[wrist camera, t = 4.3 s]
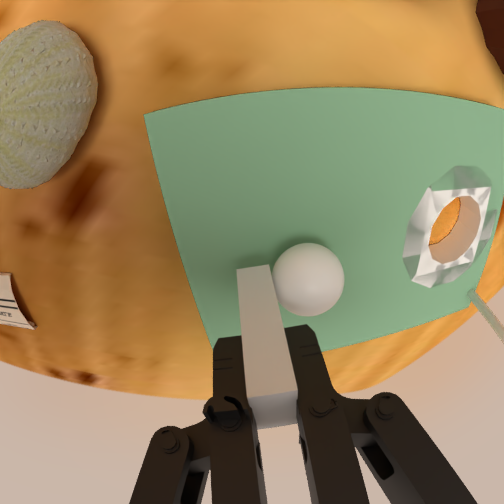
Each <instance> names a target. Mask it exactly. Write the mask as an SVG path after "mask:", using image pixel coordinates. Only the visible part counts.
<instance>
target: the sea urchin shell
mask: <svg viewBox="0 0 504 504" xmlns="http://www.w3.org/2000/svg"><path fill="white" fill-rule="evenodd" d="M98 85H99V84H98V82H97V76H96V73H95V69H94V63H93V56H92V55H91V54H90V52H89V50H88V49H87V48H86V47H85V44H84V43H83V42H82V40H81V39H80V37H79V36H78V34H77V33H75V32H74V31H71V30H70V29H69V28H67V27H66V26H65V25H64V24H62V23H60V21H59V22H58V21H46V20H45V21H44V20H41V21H37V22H36V23H33V24H30V25H28V26H26V27H24V28H21V29H20V28H19V29H18V30H17V31H15V30H14V31H13V32H12V33H11V34H9V35H8V36H7V37H6V38H5V39H4V40H3V41H2V42H0V186H3V187H5V188H9V189H12V188H13V189H23V188H27V189H28V188H34V187H37V186H38V185H40V184H43V183H45V182H47V181H49V180H50V179H51V178H52V177H53V176H54V175H55V174H56V173H57V172H58V170H59V169H60V168H61V167H62V166H63V165H64V164H65V163H66V162H67V160H69V159H70V158H71V157H70V156H71V155H72V154H73V153H74V150H75V149H76V146H77V143H78V142H79V140H80V139H81V137H82V136H83V135H84V133H85V131H86V129H87V128H88V123H89V120H90V116H91V113H92V111H93V109H94V107H95V104H96V102H97V91H98Z"/></svg>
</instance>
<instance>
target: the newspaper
mask: <svg viewBox="0 0 504 504" xmlns="http://www.w3.org/2000/svg"><path fill="white" fill-rule="evenodd" d="M11 274H12V273H0V324H5V325H10V326H16V327H21V328H27V329H33V330H36V328H37V327H38V326H34V323H33V322H31V321H27V320H26V319H25V318H24V316H23V315H22V313H21V312H20V310H19V308H18V305H17V303H16V300H15V298H14V295H13V293H12V288H11V282H10V278H11V276H10V275H11Z"/></svg>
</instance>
